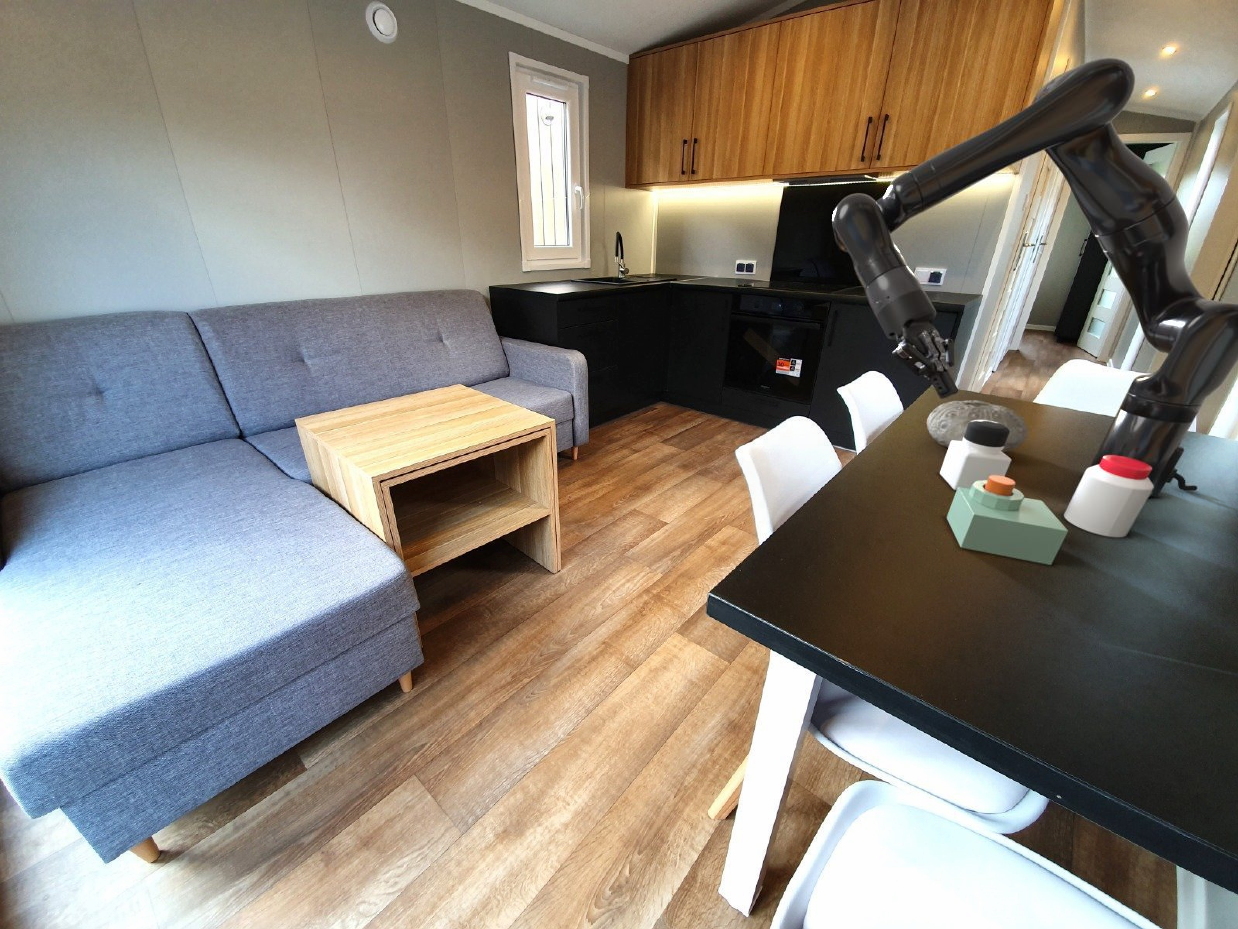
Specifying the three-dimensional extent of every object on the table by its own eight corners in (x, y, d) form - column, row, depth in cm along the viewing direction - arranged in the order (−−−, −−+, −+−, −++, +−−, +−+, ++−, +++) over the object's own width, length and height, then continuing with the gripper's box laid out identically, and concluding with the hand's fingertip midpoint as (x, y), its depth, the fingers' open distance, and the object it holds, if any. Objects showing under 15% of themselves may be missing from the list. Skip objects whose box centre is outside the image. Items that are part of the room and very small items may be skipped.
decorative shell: (915, 427, 117) (928, 387, 113) (1003, 440, 111) (1020, 398, 107) (928, 455, 102) (944, 410, 98) (1030, 471, 96) (1051, 424, 92)
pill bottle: (1111, 517, 81) (1143, 456, 76) (1138, 542, 74) (1176, 477, 70) (1055, 508, 83) (1083, 448, 78) (1076, 531, 76) (1109, 468, 72)
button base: (1026, 532, 76) (1046, 489, 72) (1051, 565, 68) (1074, 519, 65) (946, 517, 79) (961, 476, 76) (960, 547, 71) (978, 503, 68)
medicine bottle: (997, 495, 86) (1024, 432, 81) (953, 490, 88) (976, 428, 82) (979, 478, 93) (1002, 418, 88) (938, 473, 94) (959, 414, 89)
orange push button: (1006, 489, 73) (1011, 477, 72) (1013, 499, 70) (1019, 486, 69) (981, 485, 74) (986, 473, 73) (987, 494, 71) (992, 482, 70)
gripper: (892, 288, 74) (947, 388, 70) (944, 287, 80) (998, 379, 75) (854, 319, 81) (902, 412, 76) (904, 315, 86) (952, 402, 82)
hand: (950, 395), depth 76 cm, fingers closed
